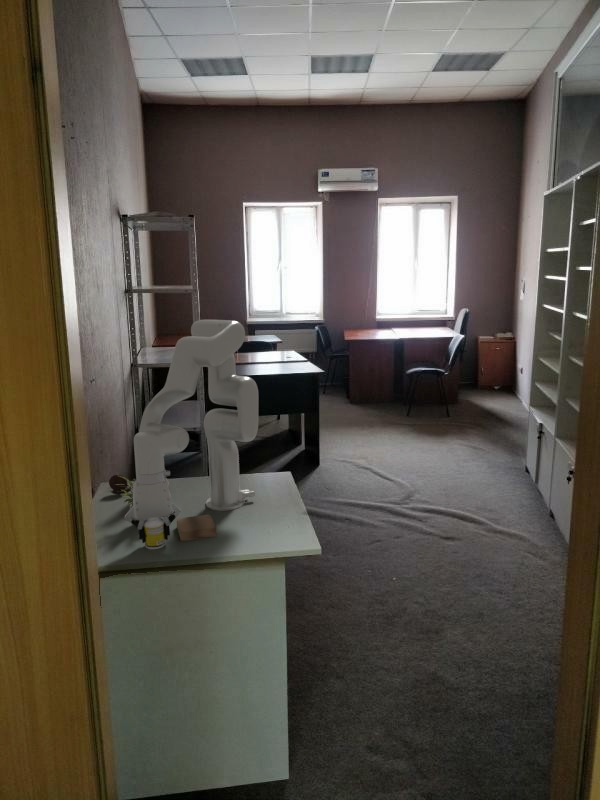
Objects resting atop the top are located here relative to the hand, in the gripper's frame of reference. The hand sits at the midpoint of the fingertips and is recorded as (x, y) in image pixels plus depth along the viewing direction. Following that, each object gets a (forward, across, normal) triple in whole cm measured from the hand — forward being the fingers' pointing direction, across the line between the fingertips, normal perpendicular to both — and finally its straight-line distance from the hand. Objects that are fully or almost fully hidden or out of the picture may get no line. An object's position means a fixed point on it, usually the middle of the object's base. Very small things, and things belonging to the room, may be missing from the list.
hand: (154, 538), depth 167 cm
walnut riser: (+2, -12, -5) cm, 13 cm away
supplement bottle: (+2, 0, 0) cm, 2 cm away
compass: (+2, +9, -49) cm, 50 cm away
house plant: (+2, +3, -17) cm, 18 cm away
